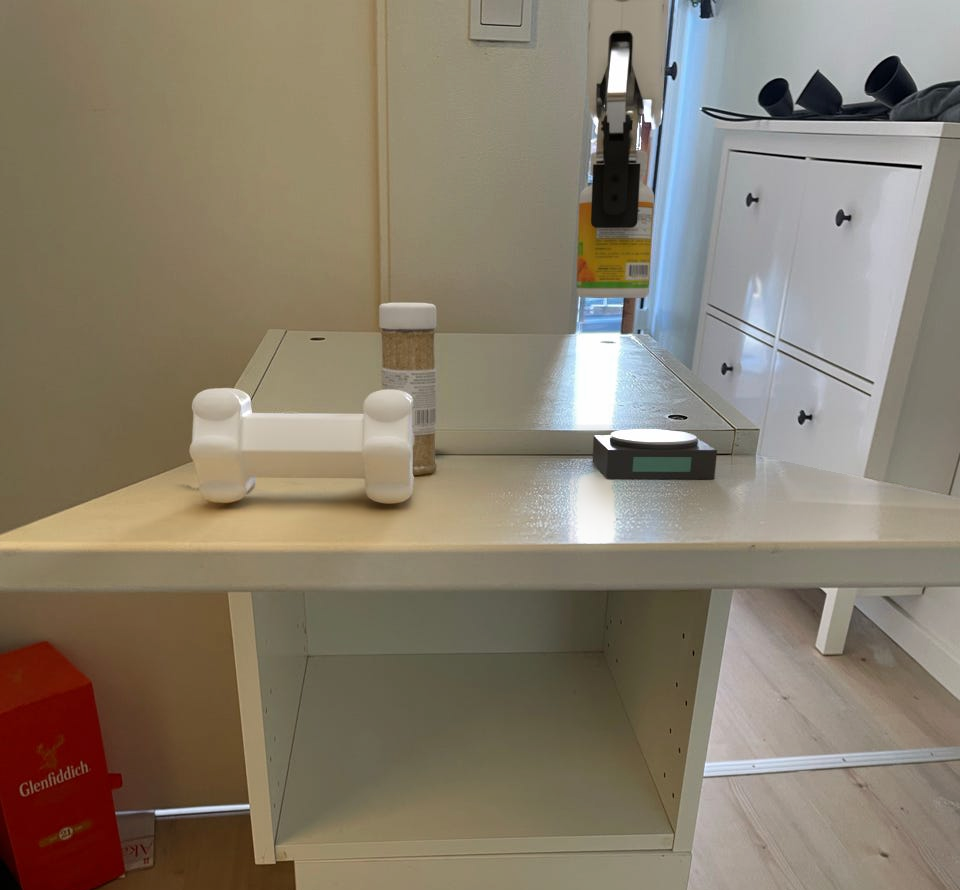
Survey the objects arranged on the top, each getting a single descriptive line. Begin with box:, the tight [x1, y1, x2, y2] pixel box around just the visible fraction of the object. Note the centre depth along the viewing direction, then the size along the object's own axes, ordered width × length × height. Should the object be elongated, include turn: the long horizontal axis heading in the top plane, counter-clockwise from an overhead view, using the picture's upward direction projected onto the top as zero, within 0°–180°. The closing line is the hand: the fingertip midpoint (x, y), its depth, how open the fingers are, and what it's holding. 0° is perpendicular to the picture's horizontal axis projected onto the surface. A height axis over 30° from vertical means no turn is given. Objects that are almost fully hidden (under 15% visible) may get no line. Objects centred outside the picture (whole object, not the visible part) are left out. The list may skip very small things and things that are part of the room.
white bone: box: [188, 387, 415, 505], centre depth 69 cm, size 15×9×8 cm, turn 92°
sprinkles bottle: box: [378, 301, 438, 476], centre depth 80 cm, size 5×5×13 cm
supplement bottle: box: [575, 150, 655, 299], centre depth 71 cm, size 5×5×10 cm
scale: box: [591, 428, 718, 480], centre depth 83 cm, size 9×8×3 cm
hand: (616, 226), depth 71 cm, fingers closed on supplement bottle, 5 cm apart
